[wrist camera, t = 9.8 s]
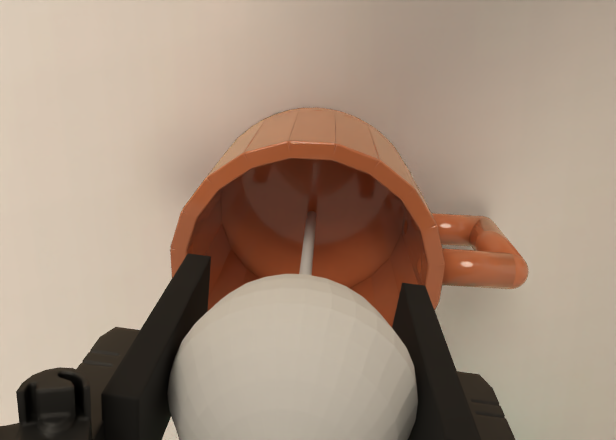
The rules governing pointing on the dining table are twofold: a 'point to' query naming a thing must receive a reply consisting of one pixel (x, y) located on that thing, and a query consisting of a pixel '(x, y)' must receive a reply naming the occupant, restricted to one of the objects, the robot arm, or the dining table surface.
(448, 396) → the robot arm
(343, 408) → the lollipop
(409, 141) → the dining table surface
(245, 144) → the mug
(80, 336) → the dining table surface
